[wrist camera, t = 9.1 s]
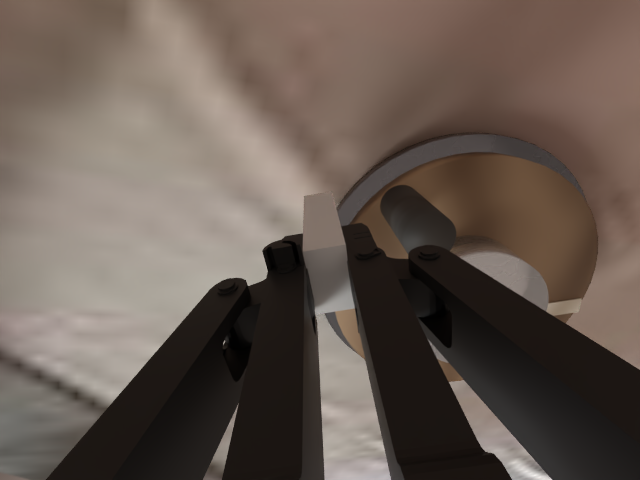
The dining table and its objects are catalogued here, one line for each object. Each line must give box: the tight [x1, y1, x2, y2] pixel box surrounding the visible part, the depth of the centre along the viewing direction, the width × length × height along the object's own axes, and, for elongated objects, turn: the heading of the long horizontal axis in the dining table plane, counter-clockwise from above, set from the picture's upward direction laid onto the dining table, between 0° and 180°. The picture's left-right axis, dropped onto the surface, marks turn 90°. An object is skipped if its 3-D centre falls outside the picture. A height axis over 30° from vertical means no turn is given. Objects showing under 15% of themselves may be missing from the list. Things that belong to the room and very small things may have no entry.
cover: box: [428, 235, 549, 363], centre depth 19 cm, size 8×8×5 cm
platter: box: [335, 152, 598, 382], centre depth 20 cm, size 18×18×6 cm
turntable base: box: [325, 133, 586, 353], centre depth 23 cm, size 20×20×1 cm
